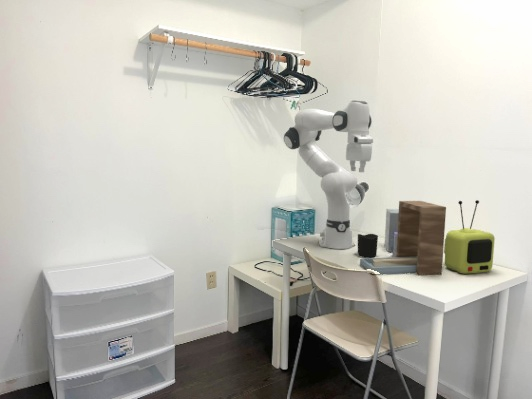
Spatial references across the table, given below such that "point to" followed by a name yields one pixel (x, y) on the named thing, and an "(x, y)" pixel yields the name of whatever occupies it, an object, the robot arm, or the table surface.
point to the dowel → (394, 262)
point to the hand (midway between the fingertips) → (357, 171)
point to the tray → (367, 264)
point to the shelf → (422, 235)
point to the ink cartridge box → (394, 244)
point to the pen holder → (367, 245)
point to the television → (469, 249)
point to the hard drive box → (391, 227)
